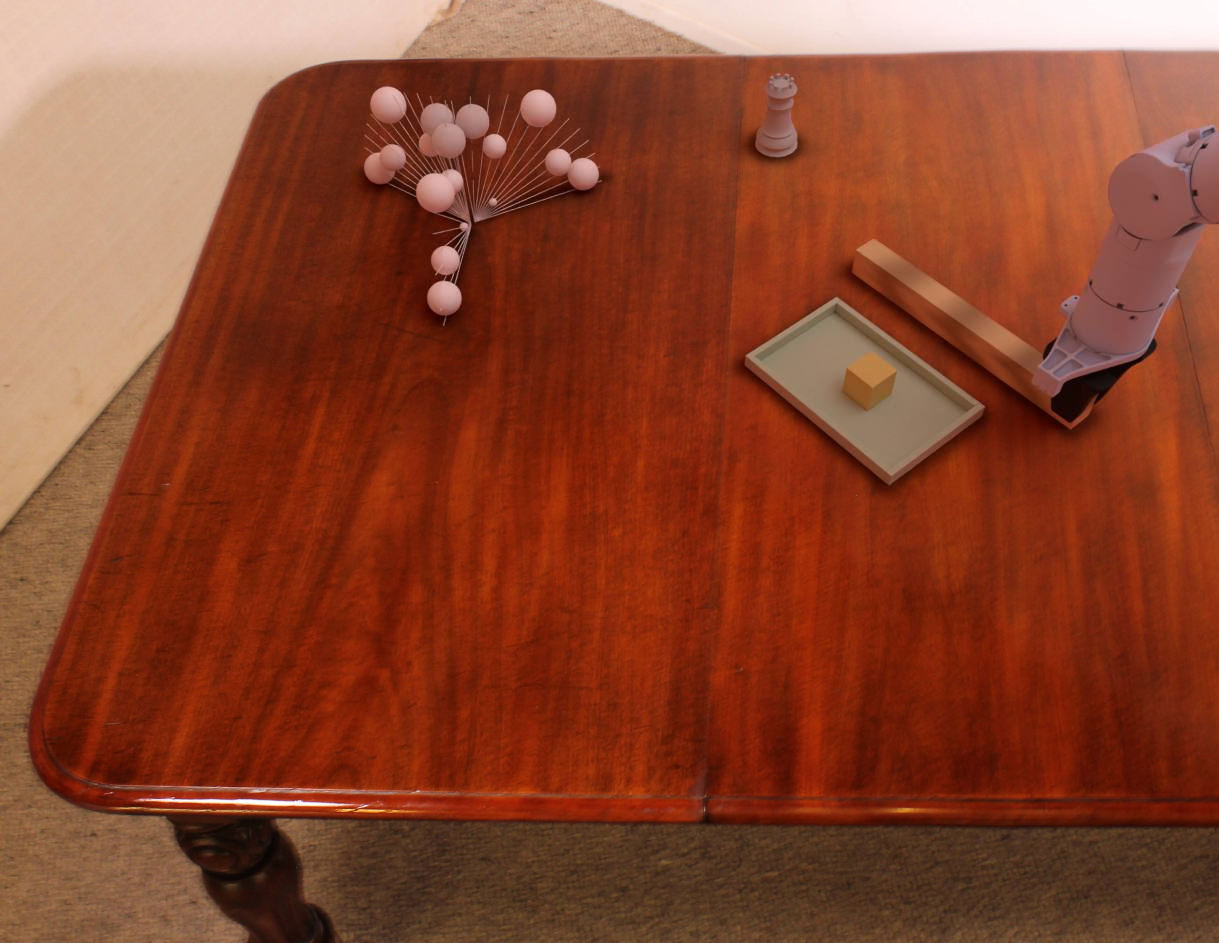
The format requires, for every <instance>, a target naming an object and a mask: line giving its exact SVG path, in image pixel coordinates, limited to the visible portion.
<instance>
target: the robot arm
mask: <svg viewBox="0 0 1219 943" xmlns="http://www.w3.org/2000/svg"><path fill="white" fill-rule="evenodd" d="M1107 197H1108V202H1109V203H1108V204H1109V207H1110V210H1111V212H1112V214H1113V215H1112V217H1111V220H1110V222H1109V225H1108V226H1107V230H1106V232H1105V234H1104V237H1103V239H1102V242H1101V244H1100V247H1099V248H1098V252H1097V254H1096V257H1095V259H1094V261H1093V264H1092V266H1091V269H1090V271H1089V273H1088V276H1087V278H1086V280H1085V283H1084V286H1083V288H1082V290H1081V293H1080V294H1079V295H1077V294H1073V295H1071V296H1069V297H1068V298H1066V299H1064V300H1063V301H1062V302H1061V303H1060V305H1059V308H1058V313H1059V314H1060V315H1061V316H1063V317H1064V318H1065V323H1064V324H1063V326H1062V328H1061V330H1060V332H1059V334H1058V336H1057V337H1055V338H1054V339H1052V340H1051V341H1050V342H1049V343H1047V344H1046V346H1045V348H1044V351H1043V353H1042V354H1043V360H1044V361H1043V362H1042V363H1041V364H1039V365H1038V366H1037V369H1036V371H1035V374H1034V376H1033V379H1032V381H1031V383H1032V384H1034V385H1035V386H1036V387H1038V388H1039V389H1040V390H1042V391H1043V392H1044V393H1046V394H1048V395H1049V396H1051V410H1052V411H1053V412H1054V413H1056V414H1057V415H1059V416H1060V417H1061V418H1063V419H1064V420H1066V421H1067V422H1068V423H1072V422H1073V421H1074V420H1075V419H1077V418H1078V417H1079V416H1080V415H1081V414H1082V413H1083V412H1084V410H1085V409H1086V408H1087V406H1088V405H1089V403H1090V402H1091V400H1092V399H1093V398H1094V397H1095V396H1096V395H1097V394H1098V396H1097V398H1096V401H1095V403H1094V405H1093V406H1095V405H1096V404H1097V403H1098V402H1100V401H1101V400H1102V399H1103V398H1104V397H1105V396H1106V395H1107V394H1108V393H1109V392H1110V391H1111V390H1112V389H1113V387H1114V386H1115V385H1116V384H1117V383H1118V382H1119V380H1120V379H1121V378H1122V377H1123V376H1124V375H1125V374H1126V373H1127V371H1129V370H1130V369H1131V368H1132V367H1134V366H1135V365H1137V364H1139V363H1142V362H1143V361H1144V360H1146V359H1147V358H1148V357H1150V356H1151V355H1152V354H1153V353H1155V351H1156V350H1157V347H1158V343H1157V340H1156V339H1155V337H1154V336H1155V334H1156V332H1157V329H1158V328H1159V326H1160V323H1161V320H1162V319H1163V317H1164V314H1165V313H1166V312H1167V311H1168V310H1170V309H1171V308H1172V306H1173V305H1174V302H1175V300H1176V298H1177V296H1178V294H1179V292H1180V290H1179V289H1178V288H1177V284H1178V283H1179V281H1180V279H1181V277H1182V275H1183V272H1184V271H1185V269H1186V267H1187V265H1188V263H1189V262H1190V259H1191V258H1192V255H1193V253H1194V251H1195V250H1196V247H1197V245H1198V244H1199V241H1200V239H1201V237H1202V235H1203V233H1204V232H1205V229H1207V227H1208V225H1213V226H1214V225H1219V131H1217V127H1216V126H1215V125H1214V124H1210V125H1204V126H1200V127H1196V128H1195V127H1194V128H1190V129H1187V130H1185V131H1182V132H1180V133H1178V134H1176V135H1174V136H1171V137H1169V138H1167V139H1165V140H1163V141H1161V142H1157V143H1156V144H1154V145H1151V146H1149V147H1147V148H1145V149H1143V150H1140V151H1138V152H1135V153H1134V154H1131V155H1130V156H1128V157H1127V158H1126V159H1123V160H1122V161H1121V162H1119V163H1118V164H1117V165H1116V166H1115V167H1114V169H1113V170H1112V172H1111V174H1110V176H1109V180H1108V184H1107Z"/></svg>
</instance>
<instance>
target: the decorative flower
mask: <svg viewBox="0 0 1219 943" xmlns="http://www.w3.org/2000/svg"><path fill="white" fill-rule="evenodd" d="M403 94H404V95H403ZM416 95H417V98H418V101H419V103H420V106H421V108H422V112H421V114H420V120H419V118H418V116H417V114H416V113H415V111H414V109H413V107H412V105H411V103H410V101H409V99H408V96H407V94H406V93H405V92H403V93H402V92H401V91H400V90H399V89H397V88H395V87H392V86H381V87H380V88H378V89H377V90H375V91H374V92H373V94H372V96H371V98H370V103H369V104H370V105H369V106H370V111H371V113H372V115H373V116H372V118H373V119H374V120H375V121H376V122H377V123H378V124H379V125H380V127H382V129H383V130H384V131H385V132H386V133H387V134H388V135H389V136H390V137H391V138H393V136H392V135H391V134H390V133H389V132H388V131H387V129H386V128H384V127H383V125H382V124H381V123H383V124H388V125H389V124H390V126H392V128H393V129H394V130H395V131H396V133H397V134H398V135H399V136H400V138H401V139H402V140H403V142H404V143H405V144H406V145H407V147H408V148H409V149H410V150H411V152H412V153H413V154H414V155H415V157H416V158H417V159H418V161H419V162H420V163H421V164H422V165H423V167H424V168H425V169H426V170H427V172H428V173H427V174H425V175H424V176H423V175H422V174H420V173H419V172H418V171H417V170H416V169H415V168H414V167H413V166H412V165H411V164H410V163H409V162H407V156H408V157H409V158H410V159H411V160H412V161H413V162H414V164H416V166H417V167H418V168H419V169H420V170H421V172H422V173H425V171H424V170H423V169H422V168H421V167H420V166H419V164H418V163H416V162H415V161H414V159H413V158H412V157H411V155H409V154H408V153H407V151H405V150H404V148H403V147H402V146H401V145H400V144H399V143H398V142H397V140H396V139H393V141H395V143H396V144H393V143H392V144H389V143H388V142H387V141H386V140H385V139H384V138H383V137H382V136H380V138H381V139H382V141H383V142H384V143H386V144H387V145H385V146H383V147H382V148H381V147H380V145H378V144H376V143H375V141H373V140H372V139H370V138H369V137H368V136H367V135H366V134H364V137H366V138H367V139H368V140H370V141H371V142H372V143H374V145H376V146H377V147H378V148H379V149H380V152H372V151H371V150H369V149H368V148H367V147H365V146H364V149H366V150H367V151H369V152H370V153H371V154H369V156H368V157H367V158H366V159H365V161H364V163H363V164H364V165H363V170H364V174H365V176H366V177H367V179H368V180H369V181H370V182H372V183H374V184H377V185H385V184H388V185H390V186H393V187H394V188H396V189H398V190H400V191H403V192H405V193H406V194H409V195H411V196H412V197H415V198H416V200H417V202H418V203H419V205H420V206H421V208H423V209H424V210H426V211H427V212H430V213H432V214H435V215H439V216H441V217H444V218H447V219H451V220H453V221H456V222H459V223H460V224H459V227H456V228H452V229H449V230H447V229H446V230H443V231H438V232H433V233H432V235H436V234H440V233H445V232H449V231H453V230H458V229H460V230H461V232H460V233H458V234H457V235H456V236H455V237H454V238H453V239H452V240H450V241H449V242H447V243H446V244H445V245H442V246H438V247H437V248H436V249H435V250H434V251H433V252H432V254H431V256H430V264H431V266H432V269H433V270H434V271H435V272H436V273H435V276H437V274H440V275H442V276H445V277H444V279H443V280H440V281H437V282H435V283H433V284H432V285H431V287H430V288H429V289H428V291H427V296H426V299H427V300H426V301H427V305H428V307H429V308H430V309H431V311H433V312H434V313H435V314H437V315H440V316H445V318H444V321H443V324H442V326H444V327H445V323H446V320H447V317H448V316H451V315H452V314H453V315H454V313H456V312H457V311H458V310H459V309H460V306H461V305H462V300H463V299H462V293H461V290H460V288H459V287H458V286H457V284H456V283H457V279H458V275H459V272H460V268H461V265H462V260H463V257H464V255H465V254H464V253H465V250H466V247H467V243H468V240H469V235H470V232H471V229H472V221H471V216H470V212H469V207H468V202H467V196H466V192H465V186H464V177H463V175H462V171H461V166H460V162H459V161H460V160H459V156H460V155H461V160H462V165H463V170H464V174H465V175H464V176H465V180H466V185H467V190H468V195H469V202H470V205H471V206H470V207H473V204H472V200H471V193H470V189H469V184H468V178H467V174H466V173H467V172H466V168H465V163H464V158H463V152H464V150H465V148H466V142H467V140H466V139H469V140H470V141H471V142H473V140H478V139H479V138H482V137H483V142H482V152H481V157H484V156H483V154H485V156H487V157H488V158H490V160H489V164H488V168H487V172H486V175H485V178H484V179H485V180H484V183H483V188H482V191H481V194H480V199H479V200H478V198H479V194H477V195H476V201H479V202H475V209H476V211H474V208H471V212H472V216H473V222H474V223H477V222H480V221H483V220H486V219H489V218H492V217H496V216H499V215H502V214H504V213H508V212H511V211H515V210H517V209H520V208H524V207H526V206H529V205H533V204H535V203H538V202H542V201H545V200H548V199H551V198H554V197H557V196H561V195H563V194H566V193H570V192H572V191H576V190H579V191H587V190H590V189H592V188H593V187H595V186H596V184H598V183H600V182H601V180H599V178H600V175H599V174H600V173H599V168H600V166H597V164H596V163H595V162H594V161H592V160H591V159H589V158H590V157H592V156H593V155H595V154H596V152H594V153H592V154H590V155H588V156H587V157H580V158H576V159H575V160H573V161H572V158H571V156H570V155H571V154H572V153H573V152H575V151H577V150H578V149H579V148H581V147H582V146H584V145H585V144H587V143H588V142H589V141H590V140H589V139H588V140H586V141H585V142H583V144H581V145H580V146H578V147H577V148H575V149H574V150H573V151H571V152H567V151H566V150H565V149H562V148H560V147H561V146H563V145H564V144H565V143H566V142H567V141H568V140H569V139H571V137H573V136H574V135H575V134H576V133H577V132H578V131H579V130H580V129H581V128H578V129H577V130H576V131H574V133H573V134H571V135H570V136H569V137H568V138H567V139H566V140H565V141H563V143H561V144H560V145H559V146H558V147H556V148H554V149H552V150H550V151H548V153H547V155H545V158H544V160H542V161H541V162H540V163H539V164H538V165H537V166H535V168H533V169H532V170H531V171H530V172H529V173H527V175H526V176H524V177H523V178H522V179H520V180H519V182H517V184H515V185H514V186H513V187H512V188H511V189H509V191H508V192H507V193H505V194H504V195H503V196H502V197H500V196H501V195H502V194H503V193H504V191H505V190H506V189H507V188H508V186H509V185H510V184H512V183H513V181H514V180H515V179H516V178H517V177H518V175H520V173H522V171H523V170H524V169H525V168H526V167H527V166H528V164H530V162H531V161H532V160H533V159H535V157H536V156H537V155H538V153H540V151H541V150H542V149H543V148H544V147H545V146H546V145H547V144H548V142H546V143H545V144H544V145H543V146H542V147H541V148H540V149H539V150H538V151H537V153H536V154H534V156H533V157H532V158H531V159H530V160H529V161H528V162H527V164H526V165H524V166H523V168H522V169H520V171H519V172H518V173H517V175H515V177H514V178H513V179H512V180H510V182H509V183H508V184H507V186H505V187H504V189H503V190H502V191H501V192H500V193H499V194H498V195H497V197H495V195H496V194H497V192H498V191H499V189H500V188H502V185H503V184H504V183H505V181H506V180H507V179H508V177H509V176H510V174H511V173H512V172H513V170H514V169H515V168H516V166H517V165H518V163H520V161H521V160H522V158H523V156H524V155H525V154H526V153H527V151H528V150H529V148H530V147H531V146H532V144H533V143H534V141H535V140H536V139H537V137H538V136H539V135H540V133H541V132H542V130H544V128H545V127H547V126H548V125H550V124H551V123H552V122H553V120H554V119H555V117H556V114H557V103H556V101H555V98H554V97H553V96H552V94H551V93H549V92H547V91H546V90H543V89H534V90H530V91H528V92H527V93H526V94H525V95H524V96H523V98H522V100H521V103H520V109H519V112H518V113H517V115H516V118H515V121H514V124H513V126H512V128H511V131H510V132H509V136H508V138H507V141H506V140H505V138H504V137H502V136H501V135H499V131H500V128H501V124H502V120H503V117H504V112H505V108H506V104H507V102H508V97H509V94H507V95H506V98H505V103H504V107H503V111H502V114H501V117H500V118H501V119H500V122H499V126H498V129H497V133H491V134H489V135H487V136H486V134H487V132H488V130H489V127H490V116H489V107H487V108H486V109H487V110H486V109H485V108H483V107H482V106H480V105H479V104H475V103H472V97H471V96H469V104H465V105H464V106H462V107H461V108H460V109H459V110H458V111H457V113H456V116H455V111H454V106H453V105H454V104H453V101H452V100H450V103H451V108H452V111H451V109H450V108H449V104H447V102H446V101H444V104H443V103H440V102H435V103H433V99H432V96H431V95H429V98H430V102H431V104H428V105H427V106H425V107H423V103H422V102H421V99H420V97H419V93H416ZM488 97H490V94H488ZM406 100H407V101H406ZM407 102H408V105H409V106H410V108H411V109H412V110H411V111H412V112H413V114H414V116H415V118H416V120H417V122H418V124H419V126H420V127H421V130H422V132H423V134H422V135H421V136H419V135H418V133H417V131H416V129H415V128H414V127H413V125H412V122H410V120H409V118H408V117H407V115H406V112H407ZM489 103H490V98H488V101H487V106H489ZM520 114H521V117H522V119H523V120H524V121H525V122H526V123H527V124H528V125H527V127H526V129H525V131H524V133H523V135H522V136H521V138H520V139H519V142H518V143H517V145H516V147H515V149H514V151H513V152H512V154H511V155H510V158H509V159H508V160H507V163H506V164H505V166H504V168H503V169H502V172H501V173H500V176H499V177H498V179H497V181H496V182H495V184H494V186H493V187H492V190H491V191H490V193H489V195H488V196H487V194H488V191H489V188H490V186H491V183H492V181H493V179H494V176H495V175H496V172H497V169H498V167H499V165H500V162H501V159H502V157H503V156H504V155H505V154H506V151H507V145H508V142H509V141H510V140H509V139H510V137H511V135H512V132H513V130H514V127H515V125H516V123H517V120H518V118H519V116H520ZM404 116H405V118H406V119H407V121H408V123H409V124H410V126H411V128H412V129H413V131H414V132H415V134H416V136H417V138H418V146H417V144H416V143H415V141H414V140H413V138H412V137H411V136H410V134H409V133H408V131H407V129H406V128H405V127H404V125H403V124H402V123H401V120H402V119H403V118H404ZM568 121H569V119H566V120H565V121H564V123H563V124H561V126H560V127H559V128H558V130H560V129H561V128H562V127H563V126H564V125H565V124H566V123H567V122H568ZM380 122H381V123H380ZM395 123H400V126H401V127H402V129H403V130H404V131H405V133H407V135H408V137H409V138H410V139H411V141H412V143H413V144H414V145H415V147H416V148H417V150H418V151H419V152H420V154H421V155H422V157H423V159H424V160H425V161H426V162H427V164H428V165H429V167H430V168H431V169H432V172H433V173H432V172H431V171H429V169H428V168H427V167H426V165H425V164H424V163H423V161H421V159H420V158H419V156H418V155H417V154H416V152H414V150H413V149H412V148H411V147H410V145H409V144H408V143H407V141H406V140H405V139H404V138H403V136H402V135H401V134H400V133H399V131H398V130H397V129H396V128H395V127H394V125H393V124H395ZM366 125H367V126H368V127H369V128H370V129H371V130H373V132H374V133H375V134H377V132H376V131H375V130H374V129H373V128H372V127H371V126H370V124H368V123H366ZM529 126H530V127H533V128H534V127H535V128H541V129H540V130H539V132H538V133H537V134H536V136H535V137H534V139H533V140H532V142H531V143H530V144H529V146H528V147H527V148H526V149H525V152H524V153H523V154H522V156H521V157H520V158H519V159H518V161H517V163H516V164H515V165H514V167H513V168H512V169H511V171H510V172H509V173H508V175H507V176H506V178H505V179H504V180H503V182H501V184H500V186H499V187H498V188H497V190H496V191H495V193H494V194H493V195H492V197H491V194H492V193H493V191H494V189H495V188H496V186H497V183H498V182H499V180H500V178H501V176H502V175H503V174H504V172H505V169H506V168H507V167H508V164H509V163H510V160H511V159H512V157H513V155H514V153H515V152H516V150H517V148H518V147H519V144H520V143H521V141H522V139H523V137H524V136H525V134H526V132H527V130H528V128H529ZM557 133H558V131H556V132H554V134H553V135H552V136H551V137H550V138H549V139H548V141H550V140H551V139H552V138H553V137H554V136H555V135H556V134H557ZM406 155H407V156H406ZM426 157H429V158H430V159H431V161H432V163H433V164H434V166H435V168H436V169H435V170H434V168H433V167H432V166H431V164H430V163H429V161H428V160H427V159H426ZM432 157H436V159H437V161H438V163H439V166H440V167H441V169H442V171H443V172H440V170H439V168H438V167H437V165H436V163H435V162H434V160H433V158H432ZM438 157H439V158H438ZM473 158H474V154H473V152H471V164H472V165H471V166H472V167H471V168H472V171H474V159H473ZM439 159H440V160H439ZM445 159H447V160H448V162H449V166H450V168H448V165H447V163H446V161H445ZM451 159H453V161H454V165H455V169H454V167H453V164H452V160H451ZM455 159H456V160H455ZM497 159H499V160H498V163H497V166H496V167H495V170H494V173H493V175H492V178H491V180H490V183H489V184H488V187H487V190H486V192H485V195H484V197H483V193H484V189H485V184H486V181H487V178H488V174H489V170H490V167H491V162H492V160H497ZM440 161H441V162H440ZM482 162H483V159H481V162H480V166H482V165H483V163H482ZM406 163H407V165H408V166H409V167H411V168H412V169H413V170H414V171H415V172H416V173H417V174H418V175H419V176H420V177H421V179H418V178H417V177H416V176H415V175H414V174H413V173H411V172H410V171H409V170H408V169H407V168H405V167H404V166H405V164H406ZM441 163H442V164H441ZM543 163H544V166H545V168H546V170H545V171H543V172H542V173H541V174H539V175H538V176H536V177H535V178H533V179H532V180H531V181H529V182H528V183H526V184H525V185H524V186H522V187H521V188H520V189H518V190H517V191H515V192H513V194H511V195H510V196H508V197H506V198H505V199H504V200H503V201H501V202H500V203H499V204H498V202H499V201H500V200H502V199H503V198H504V197H505V196H506V195H507V194H508V193H510V192H511V191H512V190H513V189H514V188H516V187H517V185H519V184H521V182H523V180H524V179H526V177H528V176H529V175H530V174H531V173H532V172H534V170H535V169H537V168H538V167H539V166H540V165H542V164H543ZM442 165H443V166H442ZM443 167H444V168H443ZM401 169H405V170H406V171H407V172H408V174H411V175H412V177H414V178H415V179H417V181H418V182H417V183H416V182H415V181H413V180H411V178H409V177H407V176H406V175H405V174H403V173H402V172H400V170H401ZM396 172H398V173H399V174H401V175H402V176H404V177H405V178H406V179H408V180H409V181H410V182H413V184H415V185H416V189H415V188H414V187H412V186H410V185H408V184H406V183H405V182H404V181H402V180H400V179H398V178H397V177H395V174H396ZM547 172H548V173H549V174H550V175H553V176H552V177H550V178H548V179H547V180H545V181H543V182H542V183H540V184H538V185H536V186H535V187H533V188H531V189H529V190H527V191H526V192H524V193H522V194H521V195H519V196H517V197H515V198H514V199H512V200H510V201H508V202H507V203H505V204H503V205H501V204H502V203H504V202H505V201H507V200H508V199H509V198H511V197H512V196H514V195H515V194H516V193H518V192H519V191H521V190H522V189H523V188H525V187H527V186H528V185H529V184H530V183H532V182H533V181H535V180H536V179H537V178H540V176H542V175H543V174H545V173H547ZM481 173H482V168H480V171H479V175H481ZM566 174H567V180H566V181H564V182H561V183H558V184H556V185H554V186H553V187H550V188H548V189H545V190H543V191H541V192H538V193H537V194H535V195H533V196H529V197H528V198H525V199H523V200H520V201H518V202H516V203H514V204H511V205H509V206H506V205H508V204H509V203H511V202H513V201H515V200H516V199H518V198H520V197H522V196H524V195H525V194H527V193H529V192H531V191H532V190H534V189H535V188H537V187H540V186H541V185H543V184H544V183H546V182H548V181H550V180H551V179H553V178H555V177H563V176H564V175H566ZM393 178H394V179H396V180H398V181H399V182H400V183H402V184H404V185H405V186H407V187H410V188H411V189H412V190H414V191H415V195H414V194H413V193H410V192H408V191H406V190H403V188H399V187H397V186H395V185H393V184H391V183H389V182H390V181H392V179H393ZM480 180H481V176H479V178H478V183H480ZM568 182H569V184H570V185H571V186H572V187H573V189H571V190H568V191H565V192H561V193H559V194H555V195H553V196H549V197H547V198H543V199H540V200H537V201H534V202H531V203H528V204H524V205H521V206H519V207H516V208H513V209H509V210H506V209H508V208H511V207H512V206H516V205H517V204H520V203H521V202H524V201H527V200H528V199H531V198H532V197H533V198H534V197H535V196H537V195H540V194H542V193H545V192H547V191H548V190H551V189H554V188H555V187H558V186H560V185H563V184H565V183H568ZM474 186H475V185H474V181H472V196H473V198H472V199H473V200H475V189H474ZM479 191H480V185H478V187H477V192H479ZM461 192H462V194H461ZM462 195H463V196H462ZM486 196H487V198H486ZM482 197H483V199H482ZM490 197H491V198H490ZM498 197H500V199H499V200H498V201H497V199H498ZM485 198H486V201H485ZM481 200H482V203H481ZM488 200H489V201H488ZM487 202H488V203H487ZM483 203H484V204H483ZM486 203H487V204H486ZM480 204H481V205H480ZM500 205H501V206H500ZM498 206H499V207H498ZM504 206H506V207H505V208H503V209H500V208H502V207H504ZM489 207H490V208H489ZM499 209H500V210H499ZM497 210H498V211H497ZM503 210H506V211H503ZM502 211H503V212H502ZM442 212H447V213H449V214H450V215H452V216H455V217H457V218H460V220H459V219H455V218H453V217H449V216H446V215H442V214H440V213H442ZM499 212H500V213H499ZM461 219H462V220H464V221H465V222H463V221H461ZM463 233H464V234H463ZM461 234H463V235H462V237H461V238H460V240H459V241H458V242H457V244H455V246H454V247H451V246H448V245H449V244H450V243H452V242H453V241H454V240H455V239H456V238H458V237H459V236H460V235H461ZM462 239H463V240H462ZM461 241H462V242H461ZM460 242H461V245H460V246H459V248H458V250H456V248H457V246H458V245H459V244H460ZM462 245H463V246H462ZM461 247H462V249H461ZM460 250H461V252H460V254H459V251H460ZM460 258H461V259H460ZM457 270H458V271H457ZM456 271H457V274H456V278H455V281H454V283H453V282H452V280H453V278H454V275H455V272H456ZM449 275H452V276H451V278H450V281H447V280H446V278H447V276H449Z"/></svg>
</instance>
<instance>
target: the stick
mask: <svg viewBox="0 0 1219 943" xmlns="http://www.w3.org/2000/svg"><path fill="white" fill-rule="evenodd" d="M851 274H853V275H854V276H855V277H857V278H859V279H860V280H861V281H863V282H864V283H865V284H867V285H868V286H870V287H871V288H873V289H874V290H875V291H877V292H878V293H879V294H881V295H882V296H884V297H885V298H886V299H888V300H889V301H891V302H892V303H893V304H894V305H896V306H897V307H899V308H900V309H902V310H903V311H905V312H906V313H907V314H908V315H910V316H911V317H913V318H914V319H916V320H917V321H918V322H920V323H921V324H923V325H924V326H925V327H927V328H928V329H930V330H931V331H932V332H934V333H935V334H937V335H938V336H939V337H941V338H942V339H943V340H945V341H947V342H948V343H949V344H950V345H951V346H953V347H955V348H956V349H958V350H959V352H962V353H963V354H964V355H965V356H967V357H969V359H971V360H973V361H974V362H975V363H977V364H978V365H980V366H981V367H982V368H984V369H985V370H987V371H988V372H990V373H991V374H992V375H993V376H995V377H996V378H998V379H999V380H1001V381H1002V382H1003V383H1004V384H1006V385H1007V386H1009V387H1010V388H1012V389H1013V390H1015V391H1016V392H1017V393H1019V394H1020V395H1021V396H1023V397H1024V398H1026V399H1028V400H1029V401H1030V402H1031V403H1033V404H1034V405H1036V406H1037V407H1038V408H1040V409H1041V410H1042V411H1044V412H1045V413H1047V414H1048V415H1049V416H1051V417H1052V418H1054V419H1055V420H1056V421H1058V422H1059V423H1061V424H1062V425H1064V426H1065V427H1066V428H1067V429H1069V430H1072V429H1074V427H1076V426H1077V425H1078V424H1079V423H1081V422H1082V421H1083V420H1084V419H1086V418H1087V417H1088V416H1089V415H1090V413H1091V411H1092V410H1093V407H1094V406H1095V405H1094V403H1095V401H1096V398H1097V396H1098V394H1097V395H1096V396H1095V397H1094V398H1093V399H1092V400H1091V402H1090V403H1089V405H1088V406H1087V408H1086V409H1085V410H1084V412H1083V413H1082V414H1081V415H1080V416H1079V417H1078V418H1077V419H1075V420H1074V421H1073V422H1072V423H1068V422H1067V421H1066V420H1064V419H1063V418H1061V417H1060V416H1059V415H1057V414H1056V413H1054V412H1053V411H1052V410H1051V396H1049V395H1048V394H1046V393H1044V392H1043V391H1042V390H1040V389H1039V388H1038V387H1036V386H1035V385H1034V384H1032V383H1031V381H1032V379H1033V376H1034V374H1035V371H1036V369H1037V366H1038V365H1039V364H1041V363H1042V362H1043V361H1044V360H1043V353H1042V352H1040V351H1039V350H1038V349H1036V348H1034V347H1033V346H1032V345H1030V344H1029V343H1027V342H1026V341H1024V340H1023V339H1021V338H1020V337H1018V336H1017V335H1015V334H1014V333H1012V331H1009V330H1008V329H1006V327H1004V326H1002V325H1001V324H999V323H998V322H997V321H995V320H994V319H992V318H991V317H989V316H987V315H986V314H985V313H983V312H982V311H981V310H979V309H977V308H976V307H975V306H974V305H972V304H970V303H969V302H968V301H966V300H964V299H963V298H962V297H960V296H959V295H957V294H956V293H955V292H952V291H951V290H950V289H948V288H947V287H945V286H944V285H943V284H941V283H939V282H938V281H937V280H935V279H934V278H933V277H931V276H929V275H928V274H927V273H925V272H923V271H922V270H921V269H920V268H917V267H916V266H915V265H913V264H912V263H910V262H909V261H908V260H906V259H904V258H903V257H902V256H901V255H899V254H897V253H896V252H894V251H893V250H891V248H889V247H887V246H885V245H884V244H883V243H881V242H880V241H878V240H877V239H876V238H871V239H870V240H868V241H867V242H865V243H864V244H862V245H860V246H859V247H857V248H856V249H855V251H854V257H853V263H852V268H851Z"/></svg>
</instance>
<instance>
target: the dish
mask: <svg viewBox="0 0 1219 943" xmlns="http://www.w3.org/2000/svg"><path fill="white" fill-rule="evenodd" d="M871 351H872V352H874V353H875V354H876V355H878V356H879V357H880V358H882V359H883V360H884V361H886V362H887V363H888V364H889V365H891V366H892V367H893V368H895V369H896V370H897V374H896V379H895V383H894V387H893V391H892V394H891V395H889V396H888V397H886V398H885V399H884V400H882V401H881V402H879V403H878V404H877V405H875V406H874V407H872V408H871V409H869V410H868V411H867V410H866V409H865V408H863V407H862V406H861V405H859V404H858V403H857V402H856V401H854V400H853V399H852V398H851V397H849V396H848V395H847V394H846V393H844V392H843V391H842V390H843V385H844V379H845V374H846V369H847V367H848V366H850V365H851V364H853V363H854V362H856V361H857V360H859V359H860V358H862V357H863V356H865V355H866V354H868V353H869V352H871ZM744 366H745V367H746V368H747V369H748V370H749V371H751V372H752V373H753V374H754V375H756V377H758V378H759V379H761V380H762V381H763V382H764V383H765V384H766V385H767V386H768V387H770V388H771V389H772V390H774V391H775V392H776V393H777V394H778V395H780V396H781V397H782V398H783V399H784V400H786V401H787V402H788V403H789V404H791V405H792V407H794V408H795V409H796V410H798V411H799V412H800V413H801V414H802V415H804V416H805V417H806V418H807V419H809V421H811V422H812V423H813V424H814V425H815V426H817V427H818V428H819V429H820V430H822V431H823V432H824V433H825V434H826V435H828V436H829V437H830V438H831V439H832V440H834V441H835V442H836V443H837V444H838V445H840V447H842V448H843V449H844V450H845V451H847V452H848V453H849V454H851V456H853V457H854V458H855V459H856V460H858V462H860V463H861V464H863V466H865V467H866V468H867V469H869V471H871V472H872V473H873V474H874V475H875V476H877V477H878V478H879V479H881V480H882V481H883V482H884V483H885V484H886V485H887V486H890V485H892V484H893V483H894V482H896V481H897V480H899V478H901V477H902V476H904V475H905V474H906V473H907V472H909V471H910V470H912V469H913V468H915V467H916V466H917V465H918V464H920V463H921V462H922V461H924V460H925V459H927V457H929V456H931V455H932V454H933V453H934V452H936V451H937V450H939V449H940V448H941V447H943V446H944V445H945V444H947V443H948V442H949V441H951V440H953V438H954V437H956V436H958V435H959V434H960V433H961V432H963V431H964V430H965V429H966V428H968V427H969V426H971V425H972V424H974V423H975V422H976V421H977V420H979V419H980V418H981V417H982V416H983V414H984V411H985V408H986V406H985V405H983V404H982V403H981V402H979V401H978V400H977V399H976V398H975V397H973V396H971V395H970V394H969V393H967V392H966V391H965V390H964V389H962V388H961V387H959V386H958V385H957V384H955V383H954V382H953V381H951V380H950V379H948V378H947V377H946V376H945V375H943V374H942V373H941V372H939V371H938V370H937V369H935V368H934V367H932V366H931V365H930V364H929V363H927V362H926V361H924V360H923V359H922V358H920V357H919V356H917V354H915V353H914V352H912V351H911V350H910V349H908V348H907V347H905V346H904V345H903V344H901V343H900V342H898V341H897V340H896V339H895V338H893V337H892V336H891V335H889V334H888V333H887V332H886V331H884V330H882V329H881V328H880V327H878V326H877V325H876V324H874V323H873V322H871V320H869V319H867V318H866V317H865V316H864V315H862V314H860V313H859V312H858V311H857V310H856V309H854V307H851V306H850V305H849V304H847V303H846V302H845V301H843V300H842V299H841V298H839V297H838V296H835V297H834V298H832V299H831V300H828V302H826V303H824V304H823V305H821V306H819V307H818V308H816V309H815V310H814V311H812V312H810V313H809V314H808V315H806V316H805V317H803V318H801V319H800V320H797V322H795V323H794V324H791V326H789V327H788V328H786V329H785V330H783V331H782V332H780V333H778V334H777V335H775V336H774V337H772V338H770V339H769V340H767V341H766V342H764V343H763V344H761V345H759V346H758V347H756V348H754V349H753V350H752V351H750V352H749V353H747V354H745V357H744Z"/></svg>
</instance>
